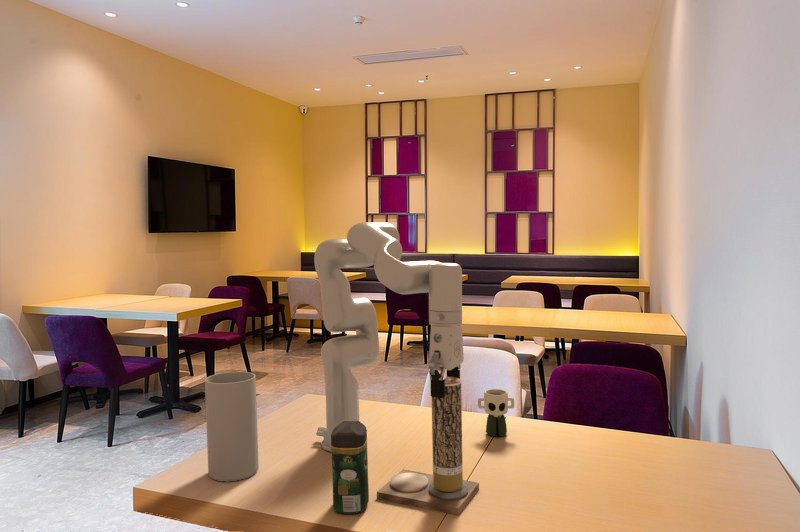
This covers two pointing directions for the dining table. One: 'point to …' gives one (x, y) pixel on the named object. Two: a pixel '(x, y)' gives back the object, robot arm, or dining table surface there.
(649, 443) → the dining table surface
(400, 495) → the board
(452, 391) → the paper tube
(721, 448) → the dining table surface
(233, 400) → the cylinder vase
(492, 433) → the character mug
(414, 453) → the dining table surface
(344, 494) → the coffee jar
